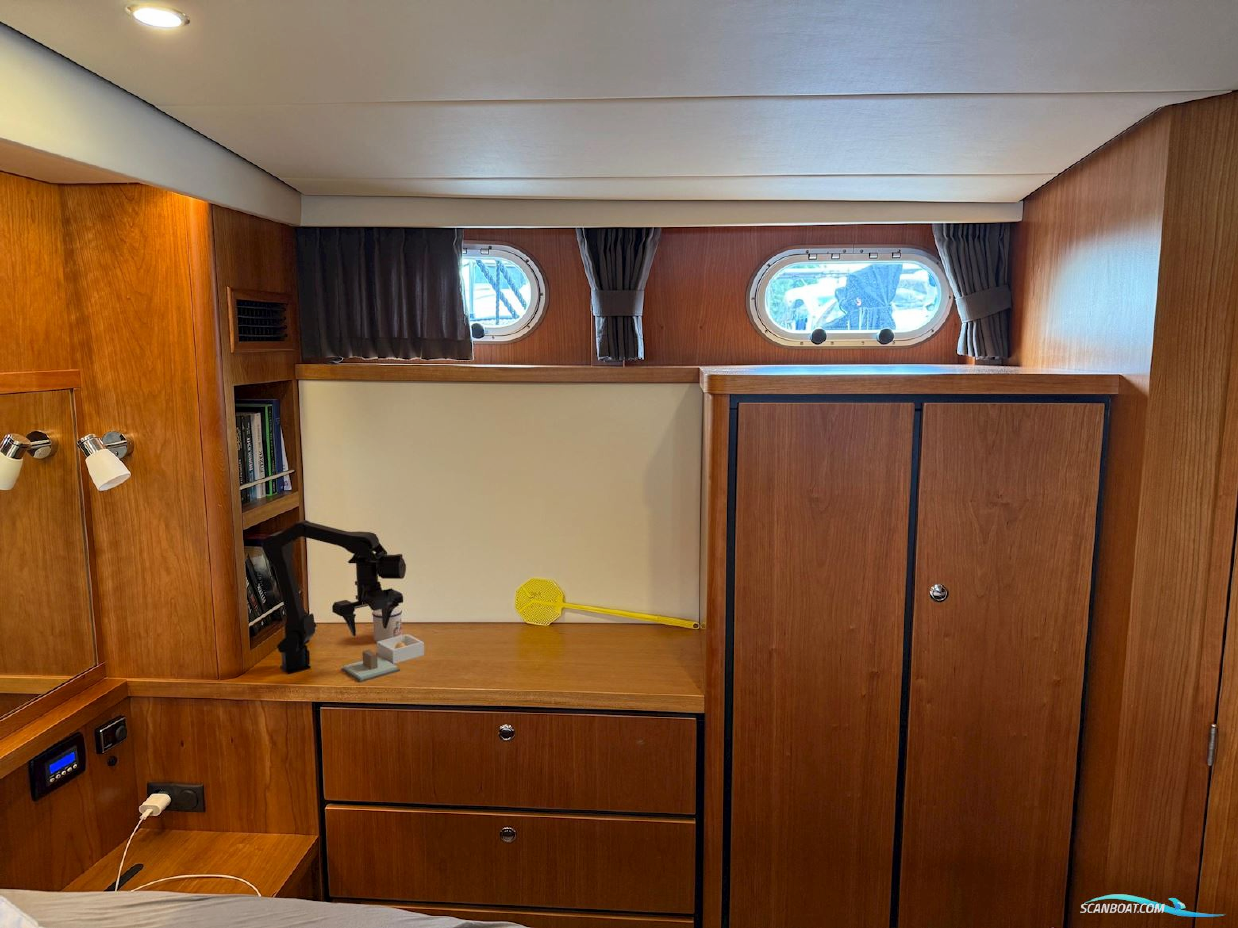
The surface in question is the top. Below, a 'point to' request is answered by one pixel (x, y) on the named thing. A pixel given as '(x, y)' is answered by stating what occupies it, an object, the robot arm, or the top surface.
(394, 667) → the lid
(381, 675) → the mat
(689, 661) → the top surface
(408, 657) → the dish
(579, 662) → the top surface
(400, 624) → the teacup with lid
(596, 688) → the top surface
